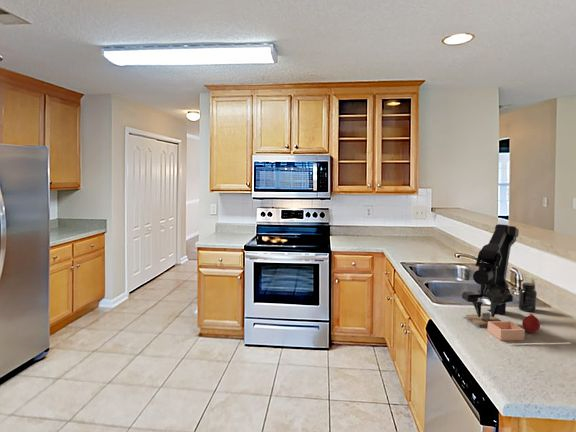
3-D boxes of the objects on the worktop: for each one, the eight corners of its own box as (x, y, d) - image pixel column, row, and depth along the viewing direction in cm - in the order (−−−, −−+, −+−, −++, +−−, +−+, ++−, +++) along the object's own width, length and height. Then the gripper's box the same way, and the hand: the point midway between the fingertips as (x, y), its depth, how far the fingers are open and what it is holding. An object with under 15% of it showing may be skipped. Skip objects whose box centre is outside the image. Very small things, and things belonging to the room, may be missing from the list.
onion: (533, 330, 165) (534, 310, 164) (542, 336, 159) (544, 315, 158) (518, 330, 164) (520, 310, 164) (527, 336, 159) (529, 316, 158)
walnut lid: (466, 317, 177) (466, 308, 176) (491, 317, 177) (491, 308, 177) (479, 327, 166) (480, 318, 165) (506, 326, 166) (506, 317, 166)
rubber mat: (462, 318, 178) (462, 316, 178) (492, 317, 179) (492, 316, 178) (478, 329, 165) (478, 328, 165) (510, 329, 166) (510, 327, 166)
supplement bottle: (515, 306, 193) (517, 281, 192) (531, 307, 192) (533, 282, 191) (521, 311, 186) (523, 285, 185) (538, 312, 185) (540, 286, 184)
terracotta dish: (487, 332, 162) (487, 321, 161) (509, 332, 163) (510, 321, 162) (500, 342, 153) (501, 330, 153) (524, 341, 154) (524, 329, 153)
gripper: (475, 285, 161) (473, 324, 163) (522, 284, 162) (519, 323, 164) (462, 277, 172) (460, 314, 174) (506, 277, 173) (503, 314, 175)
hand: (485, 316), depth 171 cm, fingers open, 5 cm apart
